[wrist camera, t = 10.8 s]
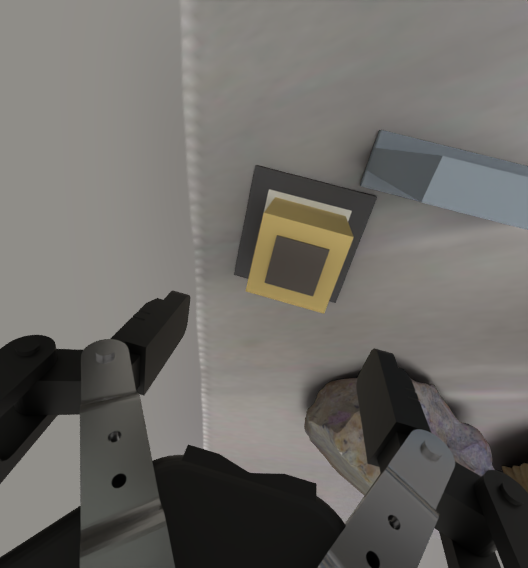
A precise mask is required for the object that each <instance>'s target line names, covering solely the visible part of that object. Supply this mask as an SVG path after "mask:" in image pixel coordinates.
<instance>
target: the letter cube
mask: <svg viewBox="0 0 528 568" xmlns="http://www.w3.org/2000/svg"><path fill="white" fill-rule="evenodd" d="M353 238H354V237H353V234H352V231H351V229H350V226H349V223H348V221H347V218H346V216H343V215H340V214H336V213H332V212H329V211H325V210H321V209H318V208H314V207H310V206H306V205H303V204H299V203H295V202H292V201H288V200H284V199H281V198H277V197H275V198H274V200H273V201H272V202H271V204H270V205H269V206H268V208H267V209H266V210H265V212H264V214H263V218H262V222H261V224H260V227H259V231H258V235H257V240H256V244H255V248H254V253H253V257H252V261H251V266H250V274H249V279H248V283H247V287H246V291H247V292H250V293H254V294H257V295H261V296H264V297H268V298H271V299H275V300H278V301H282V302H285V303H289V304H292V305H296V306H299V307H303V308H306V309H310V310H313V311H317V312H320V313H324V312H325V310H326V307H327V305H328V302H329V300H330V297H331V294H332V292H333V289H334V287H335V284H336V282H337V279H338V276H339V274H340V271H341V269H342V266H343V264H344V261H345V258H346V256H347V253H348V251H349V248H350V246H351V243H352V240H353Z"/></svg>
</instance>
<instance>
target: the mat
mask: <svg viewBox="0 0 528 568" xmlns="http://www.w3.org/2000/svg"><path fill="white" fill-rule="evenodd" d="M275 197H277V198H281V199H284V200H288V201H292V202H295V203H299V204H303V205H306V206H310V207H314V208H318V209H321V210H325V211H329V212H332V213H336V214H340V215H343V216H346V218H347V221H348V223H349V226H350V229H351V231H352V234H353V237H354V238H353V240H352V243H351V246H350V248H349V251H348V253H347V256H346V258H345V261H344V264H343V266H342V269H341V271H340V274H339V276H338V279H337V282H336V284H335V287H334V289H333V292H332V294H331V297H330V300H329V301H331V302H335V303H336V300H337V298H338V295H339V293H340V290H341V288H342V285H343V282H344V280H345V277H346V275H347V272H348V270H349V267H350V265H351V262H352V260H353V257H354V254H355V252H356V249H357V247H358V244H359V242H360V239H361V237H362V234H363V232H364V229H365V226H366V224H367V221H368V219H369V216H370V214H371V211H372V209H373V206H374V204H375V201H376V198H377V197H376V196H374V195H370V194H366V193H362V192H358V191H355V190H351V189H347V188H343V187H339V186H335V185H331V184H328V183H324V182H320V181H316V180H312V179H308V178H304V177H300V176H297V175H293V174H289V173H285V172H281V171H277V170H273V169H270V168H266V167H262V166H258V165H256V166H255V170H254V175H253V180H252V185H251V190H250V195H249V200H248V206H247V211H246V216H245V221H244V226H243V231H242V236H241V241H240V246H239V252H238V257H237V262H236V267H235V272H234V275H237V276H240V277H244V278H248V279H249V274H250V266H251V261H252V257H253V253H254V248H255V244H256V240H257V235H258V231H259V227H260V224H261V222H262V218H263V214H264V212H265V210H266V209H267V208H268V206H269V205H270V204H271V202H272V201H273V200H274V198H275Z"/></svg>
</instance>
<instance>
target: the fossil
mask: <svg viewBox="0 0 528 568" xmlns="http://www.w3.org/2000/svg"><path fill="white" fill-rule="evenodd" d="M502 470H503V473H504V474H506V475H508V476H510V477H511V478H512V479H514V480H515V481H516V482H518V483H519V484H520V485H521V486H522V487H523V488H524V489H525V490H526V491H527V492H528V464H527V463H523V464H521V466H513V467H512V468H509V467H506V466H502Z"/></svg>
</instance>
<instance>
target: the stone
mask: <svg viewBox="0 0 528 568" xmlns="http://www.w3.org/2000/svg"><path fill="white" fill-rule="evenodd" d="M357 379H358V378H350V379H341V380H337V381H332V382H329V383H327V384H326V385H325V387H324V388H323V389H321V390H320V391H319V393H318V394H317V398H316V400H315V402H314V404H313V405H312V406H311V407H310V408H309V409H308V411H307V414H306V418H305V426H304V427H305V431H306V433H307V434H308V436H309V438H310V440H311V442H312V443H313V444H314V445H315V446H316V447H317V448H318V449H319V451H320V452H321V453H322V454H323V455H324V456H325V458H326V459H327V460H328V461H329V463H330V464H331V465H332V467H333V468H334V469H335V470H336V471H337V472H338V473H339V474H340V475H341V476H342V477H344V478H345V479H346V480H347V481H348V482H349V483H351V484H352V485H353V486H354V487H355V488H356V489H358V490H359V491H360V492H361V493H362V494H363V495H365V494H366V493H367V492H368V490H369V489H370V487H371V486H372V485H373V483H374V482H375V480H376V479H377V478H378V476H379V475H380V468H379V467H378V466H374V465H371V464H368V463H367V456H366V450H365V443H364V436H363V430H362V423H361V416H360V409H359V403H358V396H357V389H356V384H357ZM410 379H411V378H410ZM411 380H412V379H411ZM412 383H413V385H414V388H415V393H417V396H418V399H419V402H420V404H421V406H422V409H423V412H424V414H425V417H426V420H427V422H428V425H429V428H430V430H431V433H432V434H434V435H436V436H437V437H438V438H440V439H441V440H442V441H443V442H444V443H445V444H446V445H447V447H448V448H449V449H450V451H451V452H452V454H453V457H454V460H455V461H456V462H457V463H459V464H460V465H462V466H464V467H466V468H467V469H469V470H471V471H473V472H474V473H476V474H478V475H480V476H482V475H483V474H484V473H485V472H487V471H488V470H495V469H494V468H493V466H492V454H491V449H490V445H489V444H488V442H487V441H486V440H485V439H484V437H483V435H482V434H481V433H480V431H479V430H478V429H476V428H475V427H473V426H471V425H469V424H466V423H462V422H460V421H458V420H457V418H456V417H455V416H454V414H453V413H452V411H451V410H450V408H449V406H448V405H447V404H446V402H445V401H444V399H443V398H442V397H441V396H440V395H439V394H438V391H437V389H436V388H435V386H434V385H433V384H430V385H428V384H425V383H420V382H416V381H414V380H412Z"/></svg>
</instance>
